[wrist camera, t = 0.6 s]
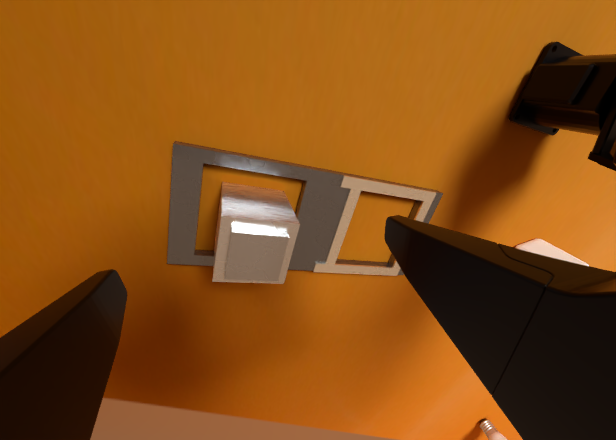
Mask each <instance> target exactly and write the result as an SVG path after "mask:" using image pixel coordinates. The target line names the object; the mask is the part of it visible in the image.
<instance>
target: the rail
mask: <svg viewBox="0 0 616 440" xmlns="http://www.w3.org/2000/svg"><path fill="white" fill-rule="evenodd" d="M204 163H206V164H211V165H217V166H223V167H229V168H235V169H241V170H247V171H253V172H259V173H265V174H271V175H277V176H282V177H288V178H294V179H300V180H304V182H303V186H302V190H301V194H300V198H299V202H298V205H297V209H296V213H295V215H296V217H297V219H298V222H299V224H300V226H299V230H298V234H297V237H296V241H295V245H294V248H293V252H292V256H291V259H290V263H289V267H288V270H308V271H313V272H325V273H346V274H368V275H389V276H397V275H403V274H404V273H403V272H402V270H401V268H400V267H399V265H398V263H397V261H396V260H395V258H394V256H393V254H392V255H391V257H390V260H389V262H388V263H386V262H371V261H356V260H340V259H337V257H338V254H339V251H340V248H341V246H342V243H343V240H344V237H345V234H346V231H347V229H348V226H349V223H350V220H351V217H352V215H353V212H354V209H355V206H356V203H357V201H358V198H359V195H360V192H361V191H367V192H373V193H379V194H385V195H391V196H397V197H403V198H409V199H415V200H416V202H415V204H414V207H413V209H412V211H411V213H410V215H409V218H410V219H414V220H417V221H421V222H424V223H429V221H430V219H431V217H432V215H433V213H434V211H435V209H436V207H437V205H438V203H439V201H440V199H441V197H442V195H443V193H441V192H439V191H437V190H432V189H426V188H421V187H416V186H411V185H405V184H400V183H395V182H389V181H384V180H379V179H373V178H368V177H363V176H358V175H352V174H347V173H342V172H336V171H331V170H326V169H320V168H315V167H310V166H305V165H299V164H294V163H289V162H283V161H278V160H273V159H268V158H262V157H257V156H252V155H246V154H241V153H236V152H230V151H225V150H220V149H215V148H209V147H204V146H199V145H193V144H188V143H183V142H177V141H175V142H174V143H173V157H172V177H171V197H170V216H169V236H168V256H167V264H184V265H204V266H213V264H214V251H204V250H195V245H196V235H197V225H198V215H199V205H200V195H201V185H202V174H203V164H204Z"/></svg>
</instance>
